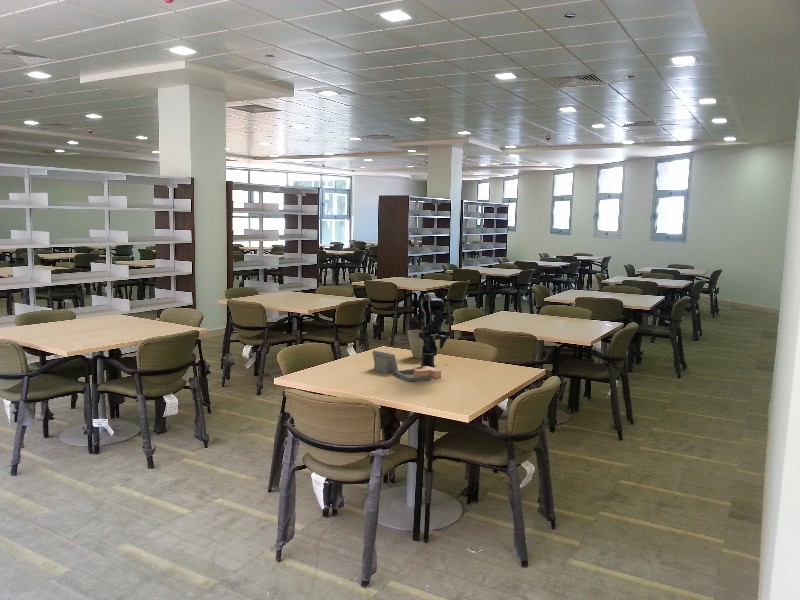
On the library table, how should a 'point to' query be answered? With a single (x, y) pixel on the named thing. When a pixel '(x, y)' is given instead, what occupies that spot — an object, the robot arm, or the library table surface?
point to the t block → (427, 372)
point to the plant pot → (415, 343)
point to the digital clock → (384, 362)
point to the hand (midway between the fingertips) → (434, 349)
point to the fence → (410, 379)
